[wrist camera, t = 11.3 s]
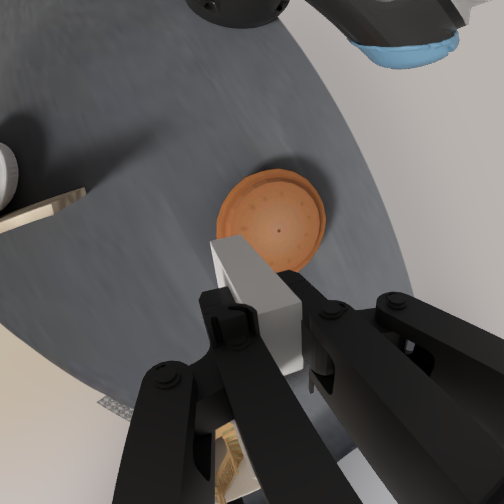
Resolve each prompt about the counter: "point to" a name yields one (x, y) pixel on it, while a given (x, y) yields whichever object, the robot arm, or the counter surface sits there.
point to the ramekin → (7, 175)
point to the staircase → (226, 458)
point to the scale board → (39, 210)
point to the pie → (275, 217)
